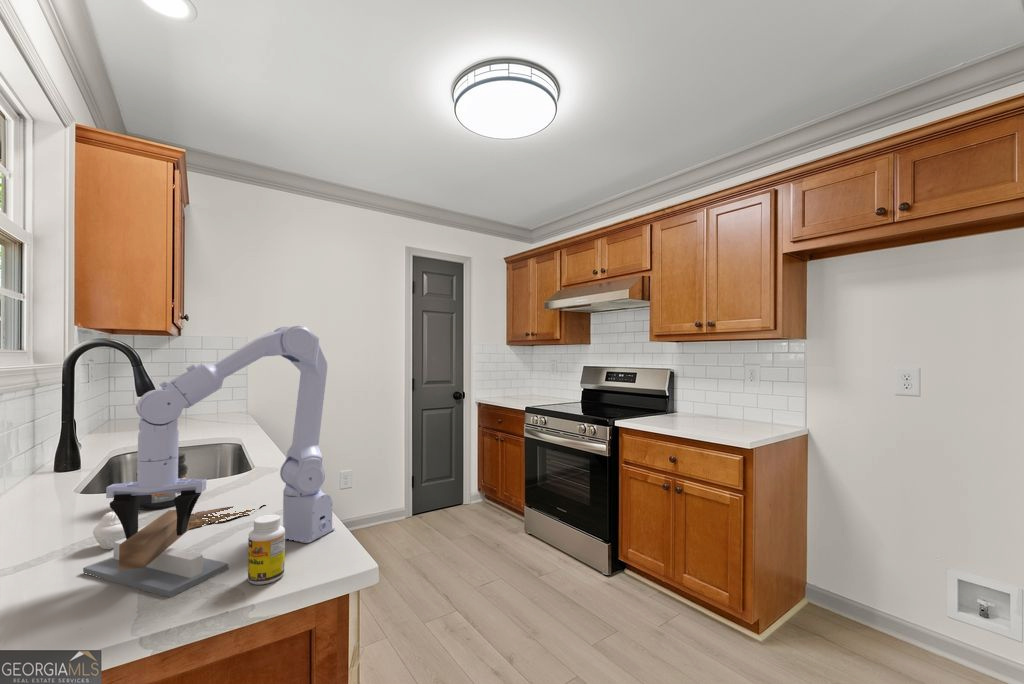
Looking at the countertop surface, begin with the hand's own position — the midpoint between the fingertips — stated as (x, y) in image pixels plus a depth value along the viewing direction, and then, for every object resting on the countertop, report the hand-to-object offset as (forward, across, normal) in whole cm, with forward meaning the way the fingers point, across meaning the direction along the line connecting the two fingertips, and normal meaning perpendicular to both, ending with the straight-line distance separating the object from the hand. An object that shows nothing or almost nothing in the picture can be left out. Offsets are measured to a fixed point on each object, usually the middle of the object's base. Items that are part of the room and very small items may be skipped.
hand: (157, 535), depth 81 cm
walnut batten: (+2, 0, 0) cm, 2 cm away
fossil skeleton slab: (+7, 0, -27) cm, 27 cm away
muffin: (+6, +14, -14) cm, 21 cm away
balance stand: (+6, 0, 0) cm, 6 cm away
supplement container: (+6, +17, -40) cm, 44 cm away
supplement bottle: (+6, -19, +7) cm, 22 cm away
